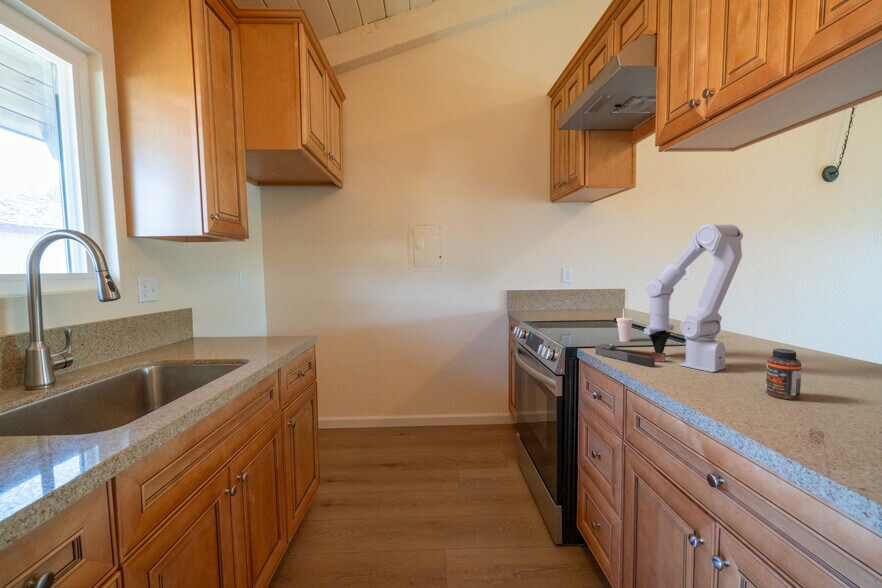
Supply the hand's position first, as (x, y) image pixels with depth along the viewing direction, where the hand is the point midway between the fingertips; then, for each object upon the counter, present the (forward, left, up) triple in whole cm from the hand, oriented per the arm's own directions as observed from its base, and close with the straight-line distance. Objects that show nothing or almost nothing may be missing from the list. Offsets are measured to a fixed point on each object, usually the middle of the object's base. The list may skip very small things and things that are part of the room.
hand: (659, 352), depth 123 cm
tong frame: (+4, +13, -1) cm, 14 cm away
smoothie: (+22, -13, -2) cm, 26 cm away
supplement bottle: (-37, +14, -2) cm, 39 cm away
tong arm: (+3, +9, -1) cm, 9 cm away
